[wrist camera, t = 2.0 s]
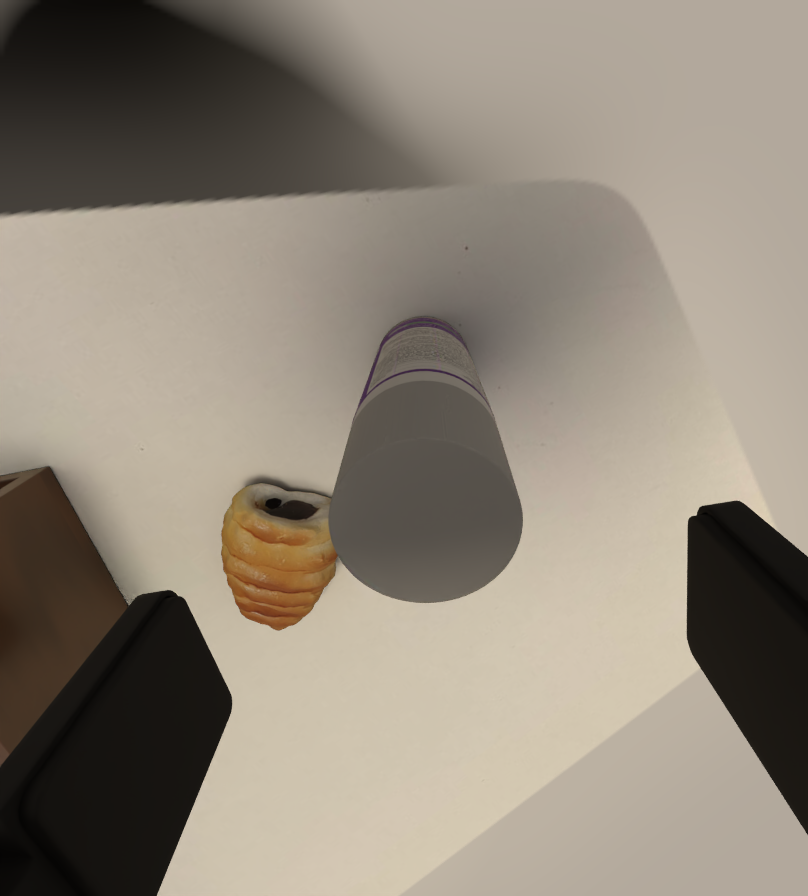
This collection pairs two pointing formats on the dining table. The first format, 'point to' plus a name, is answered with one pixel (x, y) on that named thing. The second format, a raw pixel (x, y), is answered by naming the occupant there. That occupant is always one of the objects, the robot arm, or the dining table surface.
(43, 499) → the shelf
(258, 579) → the pastry
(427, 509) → the container
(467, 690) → the dining table surface
